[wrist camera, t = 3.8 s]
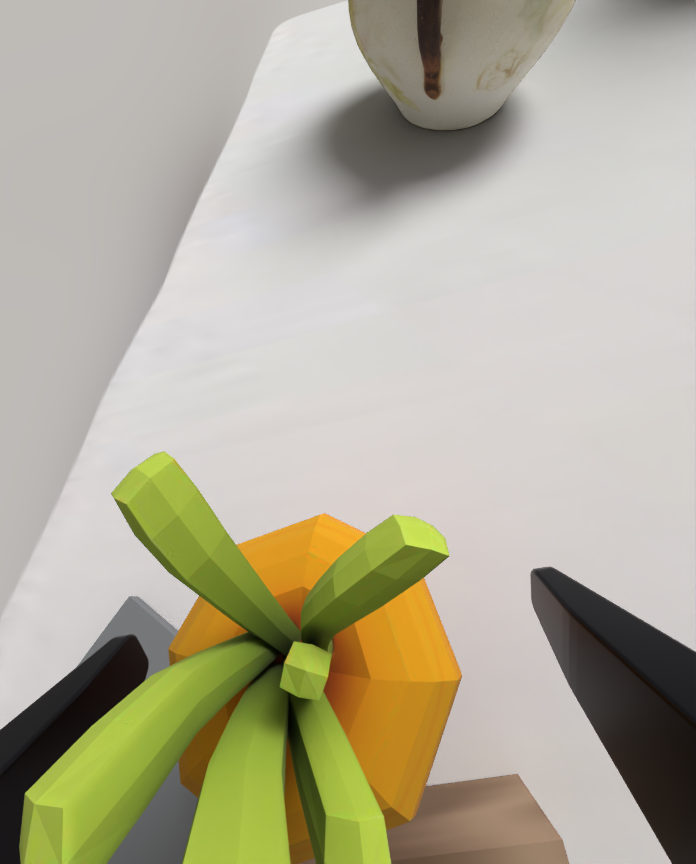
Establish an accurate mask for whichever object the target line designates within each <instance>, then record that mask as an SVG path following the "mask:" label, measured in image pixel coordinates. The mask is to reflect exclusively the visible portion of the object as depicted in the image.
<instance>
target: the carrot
mask: <svg viewBox="0 0 696 864" xmlns="http://www.w3.org/2000/svg"><path fill="white" fill-rule="evenodd" d="M111 494H112V496H113V498H114V499H115V501H116V503H117V505H118V506H119V508H120V510H121V512H122V513H123V515H124V517H125V519H126V521H127V522H128V524H129V526H130V528H131V529H132V531H133V533H134V535H135V536H136V537H137V538H138V539H139V540H140V541H141V542H142V543H143V545H144V546H145V547H146V548H147V549H148V550H149V551H150V552H151V553H152V554H153V556H154V557H155V558H156V559H157V560H158V561H159V562H160V563H161V564H162V565H163V566H164V568H165V569H166V570H167V571H168V572H169V573H170V574H172V575H173V576H174V577H176V578H177V579H178V580H180V581H181V582H182V583H183V584H185V585H186V586H187V587H189V588H190V589H191V590H193V591H194V592H195V593H197V594H198V595H199V597H198V599H197V601H196V602H195V604H194V606H193V607H192V609H191V611H190V612H189V614H188V616H187V618H186V619H185V621H184V623H183V624H182V626H181V628H180V629H179V631H178V633H177V635H176V636H175V638H174V640H173V641H172V643H171V645H170V646H169V648H168V652H169V663H170V666H169V667H167V668H165V669H163V670H161V671H159V672H157V673H155V674H153V675H151V676H150V677H149V678H148V679H147V680H145V681H144V682H143V683H142V684H141V685H139V686H138V687H137V688H136V689H135V690H134V691H132V692H131V693H130V694H129V695H128V696H127V697H125V698H124V699H123V700H122V701H121V702H119V703H118V704H117V705H116V706H115V707H114V708H112V709H111V710H110V711H109V712H108V713H106V714H105V715H104V716H103V717H102V718H101V719H99V720H98V721H97V722H96V723H95V724H94V725H92V726H91V727H90V728H89V729H88V730H87V731H86V732H85V733H84V734H83V735H82V736H81V737H80V738H79V739H78V740H77V741H76V742H75V743H74V744H73V745H72V746H71V747H70V748H69V749H68V750H67V751H66V752H65V753H64V754H63V755H62V756H61V757H60V758H59V759H58V760H57V761H56V762H55V763H54V764H53V765H52V767H51V768H50V769H49V770H48V771H47V772H46V773H45V774H44V775H43V776H42V777H41V778H40V779H39V780H38V781H37V782H36V783H35V784H34V785H33V786H32V787H31V788H30V789H29V790H28V791H27V792H26V793H25V797H24V806H23V816H22V825H21V834H20V844H19V849H20V862H21V864H107V862H108V861H109V860H110V858H111V857H112V855H113V854H114V853H115V851H116V850H117V848H118V847H119V846H120V844H121V843H122V841H123V840H124V839H125V837H126V836H127V834H128V833H129V832H130V830H131V829H132V827H133V826H134V825H135V823H136V822H137V820H138V819H139V818H140V816H141V815H142V813H143V812H144V810H145V809H146V808H147V806H148V805H149V803H150V802H151V800H152V799H153V797H154V796H155V794H156V793H157V791H158V790H159V788H160V787H161V785H162V784H163V782H164V781H165V779H166V778H167V777H168V775H169V774H170V772H171V771H172V769H173V768H174V766H175V765H176V763H177V762H178V761H179V772H180V782H181V784H182V785H183V786H184V787H185V788H187V789H188V790H189V791H190V792H191V793H193V794H194V795H195V796H196V797H197V798H198V801H197V805H196V808H195V812H194V816H193V820H192V824H191V828H190V832H189V836H188V840H187V844H186V848H185V852H184V856H183V860H182V864H299V863H302V862H305V861H307V860H310V859H313V858H315V861H316V864H391V859H390V852H389V846H388V839H387V833H386V830H389V829H392V828H394V827H397V826H399V825H402V824H405V823H407V822H410V821H411V820H412V819H413V818H414V817H415V816H416V813H417V810H418V807H419V804H420V801H421V798H422V795H423V792H424V789H425V786H426V783H427V780H428V777H429V774H430V771H431V768H432V765H433V762H434V759H435V756H436V753H437V750H438V747H439V744H440V741H441V738H442V735H443V732H444V729H445V726H446V723H447V720H448V717H449V714H450V711H451V708H452V705H453V702H454V699H455V696H456V693H457V690H458V687H459V684H460V681H461V678H462V674H461V671H460V669H459V666H458V663H457V661H456V658H455V656H454V653H453V651H452V648H451V646H450V643H449V641H448V638H447V635H446V633H445V630H444V628H443V625H442V623H441V620H440V618H439V615H438V613H437V610H436V607H435V605H434V602H433V600H432V597H431V595H430V592H429V590H428V587H427V585H426V582H425V579H424V577H425V576H426V575H427V574H428V573H430V572H431V571H432V570H433V569H434V568H436V567H437V566H438V565H439V564H440V563H442V562H443V561H444V560H445V559H446V558H448V557H449V552H448V548H447V544H446V540H445V538H444V537H443V536H442V535H441V534H440V533H439V532H438V531H437V530H436V529H435V528H434V527H433V526H432V525H430V524H428V523H426V522H424V521H422V520H420V519H418V518H416V517H410V516H400V515H392V516H391V517H389V518H388V519H386V520H385V521H384V522H382V523H381V524H379V525H378V526H376V527H375V528H373V529H372V530H370V531H369V532H367V533H364V532H362V531H360V530H358V529H356V528H354V527H352V526H350V525H348V524H346V523H344V522H341V521H339V520H337V519H335V518H333V517H331V516H329V515H327V514H325V513H324V514H321V515H318V516H315V517H313V518H310V519H307V520H304V521H302V522H299V523H296V524H293V525H290V526H288V527H285V528H282V529H279V530H277V531H274V532H271V533H268V534H265V535H263V536H260V537H257V538H254V539H252V540H249V541H246V542H243V543H241V544H238V545H236V544H235V543H234V541H233V540H232V539H231V537H230V536H229V535H228V533H227V532H226V530H225V529H224V527H223V526H222V524H221V523H220V521H219V520H218V518H217V517H216V515H215V514H214V512H213V511H212V509H211V508H210V506H209V505H208V503H207V502H206V500H205V499H204V497H203V496H202V494H201V493H200V491H199V490H198V489H197V487H196V486H195V485H194V483H193V482H192V481H191V480H190V478H189V477H188V476H187V475H186V473H185V472H184V471H183V469H182V468H181V467H180V466H179V464H178V463H177V462H176V461H175V459H174V458H172V457H171V456H170V455H168V454H167V453H166V452H160V453H156V454H154V455H152V456H151V457H149V458H148V459H146V460H145V461H144V462H142V463H141V464H139V465H138V466H136V467H135V468H133V469H132V470H131V471H130V472H129V473H128V474H127V475H126V477H125V478H124V479H123V480H122V481H121V483H120V484H119V485H118V486H117V487H116V488H115V490H114V491H113V492H112V493H111Z"/></svg>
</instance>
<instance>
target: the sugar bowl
mask: <svg viewBox="0 0 696 864" xmlns="http://www.w3.org/2000/svg"><path fill="white" fill-rule="evenodd" d="M575 1H576V0H348V3H349V14H350V20H351V26H352V30H353V33H354V36H355V39H356V42H357V45H358V47H359V49H360V51H361V53H362V55H363V56H364V58H365V60H366V62H367V63H368V65H369V67H370V68H371V70H372V71H373V73H374V74H375V76H376V77H377V79H378V80H379V82H380V83H381V84H382V86H383V87H384V88H385V90H386V91H387V92H388V94H389V95H390V96H391V98H392V99H393V100H394V102H395V103H396V105H397V106H398V108H399V110H400V111H401V113H402V115H403V116H404V117H405V118H406V119H407V120H408V121H409V122H410V123H412V124H415V125H417V126H419V127H422V128H427V129H433V130H457V129H463V128H468V127H471V126H474V125H477V124H479V123H481V122H483V121H484V120H486V119H488V118H489V117H491V116H492V115H494V114H495V113H496V112H497V111H498V110H499V109H500V107H501V106H502V105H503V103H504V102H505V100H506V99H507V98H508V96H509V95H510V94H511V92H512V91H513V90H514V89H515V88H516V86H517V85H518V84H519V83H520V82H521V80H522V79H523V78H524V77H525V75H526V74H527V73H528V72H529V71H530V69H531V68H532V67H533V66H534V64H535V63H536V62H537V61H538V59H539V58H540V57H541V56H542V54H543V53H544V52H545V50H546V49H547V48H548V46H549V45H550V43H551V42H552V40H553V39H554V37H555V36H556V35H557V33H558V31H559V30H560V28H561V26H562V25H563V23H564V21H565V19H566V18H567V16H568V14H569V13H570V11H571V9H572V8H573V5H574V3H575Z"/></svg>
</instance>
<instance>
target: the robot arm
mask: <svg viewBox="0 0 696 864" xmlns="http://www.w3.org/2000/svg"><path fill="white" fill-rule="evenodd" d="M531 599H532V604H533V607H534V610H535V612H536V614H537V617H538V619H539V621H540V623H541V625H542V628H543V630H544V632H545V634H546V636H547V639H548V641H549V643H550V645H551V647H552V649H553V652H554V654H555V656H556V658H557V660H558V663H559V665H560V667H561V669H562V671H563V673H564V675H565V678H566V680H567V682H568V684H569V686H570V688H571V689H572V691H573V693H574V695H575V697H576V698H577V700H578V702H579V704H580V705H581V707H582V709H583V711H584V712H585V714H586V716H587V717H588V719H589V721H590V723H591V724H592V726H593V728H594V730H595V731H596V733H597V735H598V736H599V738H600V740H601V742H602V743H603V745H604V747H605V749H606V750H607V752H608V754H609V755H610V757H611V759H612V761H613V762H614V764H615V766H616V768H617V769H618V771H619V773H620V774H621V776H622V778H623V780H624V781H625V783H626V785H627V787H628V788H629V790H630V792H631V793H632V795H633V797H634V799H635V800H636V802H637V804H638V806H639V807H640V809H641V811H642V812H643V814H644V816H645V818H646V819H647V821H648V823H649V825H650V826H651V828H652V830H653V832H654V833H655V835H656V837H657V838H658V840H659V842H660V844H661V845H662V847H663V849H664V851H665V852H666V854H667V856H668V857H669V859H670V861H671V863H672V864H696V652H695V651H693V650H692V649H690V648H688V647H687V646H685V645H683V644H682V643H680V642H678V641H676V640H675V639H673V638H671V637H670V636H668V635H666V634H665V633H663V632H661V631H660V630H658V629H656V628H654V627H653V626H651V625H649V624H648V623H646V622H644V621H643V620H641V619H639V618H638V617H636V616H634V615H633V614H631V613H629V612H627V611H626V610H624V609H622V608H621V607H619V606H617V605H616V604H614V603H612V602H611V601H609V600H607V599H606V598H604V597H602V596H600V595H599V594H597V593H595V592H594V591H592V590H590V589H589V588H587V587H585V586H584V585H582V584H580V583H578V582H577V581H575V580H573V579H572V578H570V577H568V576H567V575H565V574H563V573H562V572H560V571H558V570H557V569H555V568H553V567H543V568H537V569H533V570H532V571H531ZM148 668H149V660H148V657H147V655H146V653H145V651H144V649H143V647H142V645H141V643H140V641H139V639H138V638H137V636H136V635H134V634H125V635H119V636H116V637H114V638H112V639H111V640H110V641H108V642H107V643H106V644H105V645H103V646H102V647H101V648H100V649H99V650H97V651H96V652H95V653H94V654H92V655H91V656H90V657H89V658H88V659H86V660H85V661H84V662H83V663H82V664H80V665H79V666H78V667H77V668H75V669H74V670H73V671H72V672H71V673H69V674H68V675H67V676H66V677H64V678H63V679H62V680H61V681H60V682H58V683H57V684H56V685H55V686H53V687H52V688H51V689H50V690H49V691H47V692H46V693H45V694H44V695H42V696H41V697H40V698H39V699H38V700H36V701H35V702H34V703H33V704H31V705H30V706H29V707H28V708H27V709H25V710H24V711H23V712H22V713H20V714H19V715H18V716H17V717H16V718H14V719H13V720H12V721H11V722H9V723H8V724H7V725H6V726H5V727H3V728H2V729H1V730H0V864H21V862H20V849H19V844H20V834H21V825H22V816H23V806H24V797H25V793H26V792H27V791H28V790H29V789H30V788H31V787H32V786H33V785H34V784H35V783H36V782H37V781H38V780H39V779H40V778H41V777H42V776H43V775H44V774H45V773H46V772H47V771H48V770H49V769H50V768H51V767H52V765H53V764H54V763H55V762H56V761H57V760H58V759H59V758H60V757H61V756H62V755H63V754H64V753H65V752H66V751H67V750H68V749H69V748H70V747H71V746H72V745H73V744H74V743H75V742H76V741H77V740H78V739H79V738H80V737H81V736H82V735H83V734H84V733H85V732H86V731H87V730H88V729H89V728H90V727H91V726H92V725H94V724H95V723H96V722H97V721H98V720H99V719H101V718H102V717H103V716H104V715H105V714H106V713H108V712H109V711H110V710H111V709H112V708H114V707H115V706H116V705H117V704H118V703H119V702H121V701H122V700H123V699H124V698H125V697H127V696H128V695H129V694H130V693H131V692H132V691H134V690H135V689H136V688H137V687H138V686H139V685H141V684H142V683H143V682H144V681H145V679H146V676H147V672H148Z"/></svg>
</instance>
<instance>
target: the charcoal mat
mask: <svg viewBox="0 0 696 864" xmlns="http://www.w3.org/2000/svg"><path fill="white" fill-rule="evenodd" d="M177 633H178V631H177V630H176V629H175V628H174V627H173V626H172V625H170V624H169V623H168V622H167V621H166V620H165V619H163V618H162V617H161V616H160V615H159V614H158V613H156V612H155V611H154V610H153V609H152V608H151V607H149V606H148V605H147V604H146V603H145V602H144V601H142V600H141V599H140V598H139V597H134V596H129V598H128V599H127V600H126V602H125V603H124V604H123V606H122V607H121V608H120V610H119V611H118V612H117V614H116V615H115V616H114V618H113V619H112V620H111V622H110V623H109V624H108V626H107V627H106V628H105V630H104V631H103V632H102V634H101V635H100V637H99V638H98V639H97V641H96V642H95V643H94V645H93V646H92V647H91V649H90V650H89V651H88V653H87V654H86V655H85V657H84V658H83V659H82V661H81V662H80V663H79V665H80V664H82V663H83V662H84V661H85V660H86V659H88V658H89V657H90V656H91V655H92V654H94V653H95V652H96V651H97V650H99V649H100V648H101V647H102V646H103V645H105V644H106V643H107V642H108V641H110V640H111V639H112V638H114V637H116V636H119V635H125V634H134V635H136V636H137V638H138V639H139V641H140V643H141V645H142V647H143V649H144V651H145V653H146V655H147V657H148V660H149V668H148V672H147V676H146V679H145V680H147V679H148V678H149V677H150V676H151V675H153V674H155V673H157V672H159V671H161V670H163V669H165V668H167V667H169V666H170V663H169V652H168V648H169V646H170V645H171V643H172V641H173V640H174V638H175V636H176V635H177ZM79 665H78V666H79ZM78 666H77V667H78ZM77 667H76V668H77ZM197 801H198V798H197V797H196V796H195V795H194V794H193V793H191V792H190V791H189V790H188V789H187V788H185V787H184V786H183V785H182V784H181V782H180V772H179V761H178V762H177V763H176V765H175V766H174V768H173V769H172V771H171V772H170V774H169V775H168V777H167V778H166V779H165V781H164V782H163V784H162V785H161V787H160V788H159V790H158V791H157V793H156V794H155V796H154V797H153V799H152V800H151V802H150V803H149V805H148V806H147V808H146V809H145V810H144V812H143V813H142V815H141V816H140V818H139V819H138V820H137V822H136V823H135V825H134V826H133V827H132V829H131V830H130V832H129V833H128V834H127V836H126V837H125V839H124V840H123V841H122V843H121V844H120V846H119V847H118V848H117V850H116V851H115V853H114V854H113V855H112V857H111V858H110V860H109V861H108V862H107V864H182V860H183V856H184V852H185V848H186V844H187V840H188V836H189V832H190V828H191V824H192V820H193V816H194V812H195V808H196V805H197Z"/></svg>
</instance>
